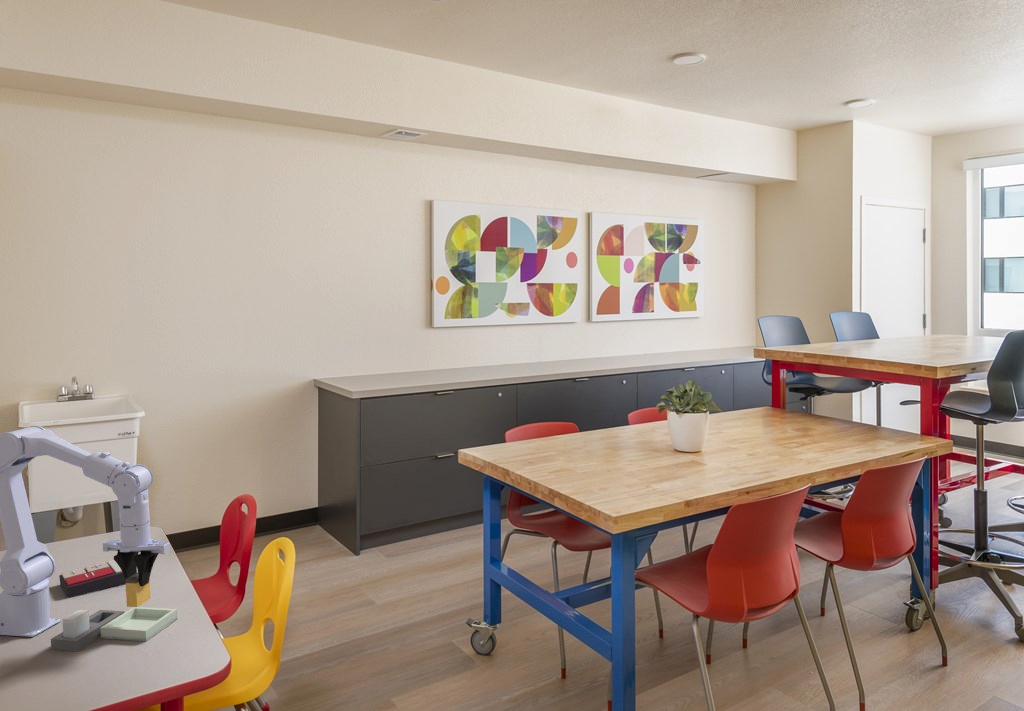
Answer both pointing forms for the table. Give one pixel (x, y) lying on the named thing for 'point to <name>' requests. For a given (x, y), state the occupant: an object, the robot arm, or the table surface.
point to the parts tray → (139, 624)
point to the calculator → (91, 578)
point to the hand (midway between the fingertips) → (138, 584)
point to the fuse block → (89, 635)
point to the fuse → (76, 624)
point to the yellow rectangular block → (136, 591)
